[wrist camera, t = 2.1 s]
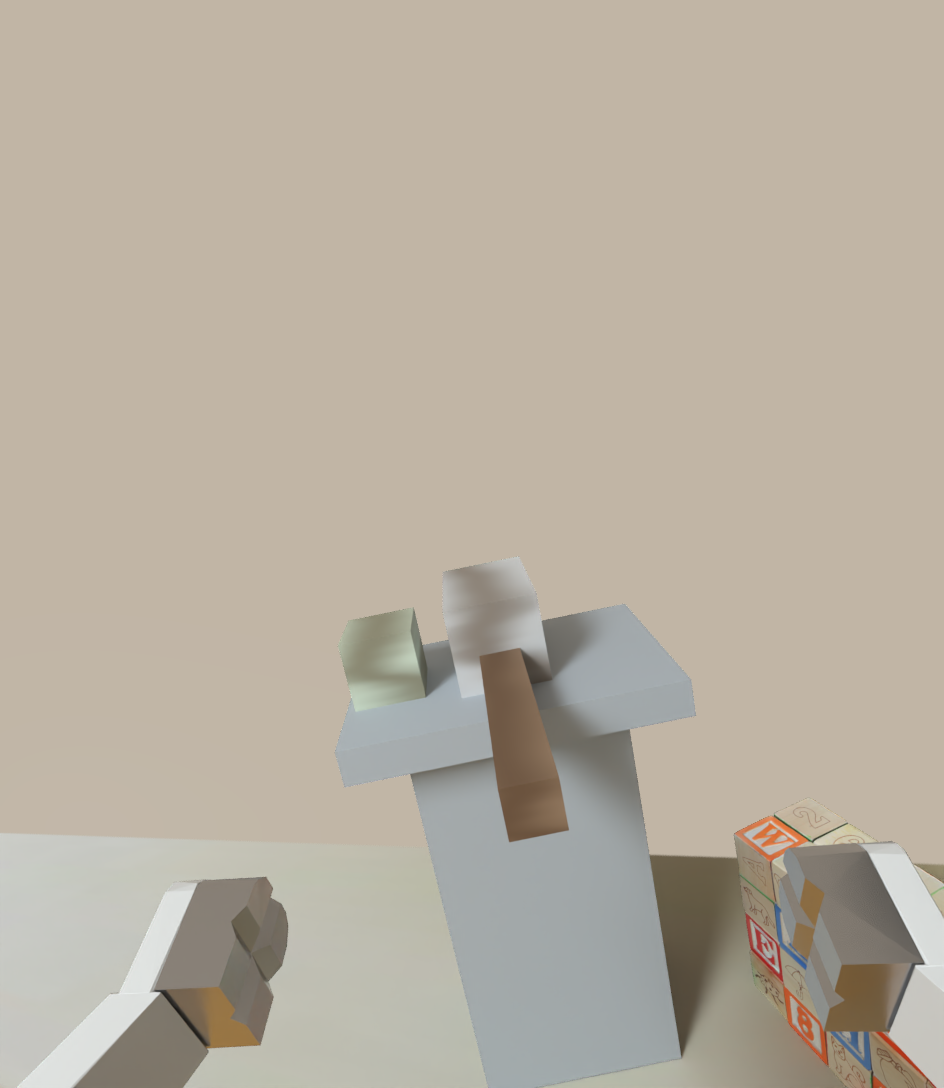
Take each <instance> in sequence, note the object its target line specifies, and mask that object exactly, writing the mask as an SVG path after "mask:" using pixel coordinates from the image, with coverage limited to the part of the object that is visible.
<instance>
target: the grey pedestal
mask: <svg viewBox="0 0 944 1088" xmlns="http://www.w3.org/2000/svg"><path fill="white" fill-rule="evenodd" d="M542 626H543V632H544V637H545V643H546V648H547V653H548V659H549V664H550V670H551V675H552V680H550V681H545V682H540V683H535V684H531V686H532V690H533V693H534V696H535V700H536V703H537V706H538V709H539V713H540V716H541V719H542V723H543V726H544V729H545V732H546V736H547V739H548V742H549V746H550V749H551V752H552V755H553V759H554V762H555V765H556V769H557V772H558V775H559V779H560V785H561V790H562V795H563V800H564V806H565V811H566V816H567V822H568V827H569V830H568V831H563V832H558V833H553V834H548V835H544V836H539V837H534V838H529V839H524V840H519V841H514V842H509V839H508V835H507V830H506V825H505V821H504V816H503V811H502V807H501V802H500V797H499V793H498V787H497V780H496V773H495V766H494V759H493V751H492V744H491V737H490V730H489V723H488V715H487V708H486V701H485V694H481V695H476V696H471V697H466V698H462V697H461V693H460V688H459V684H458V679H457V675H456V670H455V666H454V661H453V657H452V652H451V648H450V643H449V640H445V641H441V642H436V643H431V644H426V645H422V646H423V650H424V654H425V659H426V663H427V667H428V671H427V688H426V698H421V699H416V700H411V701H406V702H401V703H396V704H391V705H387V706H382V707H377V708H372V709H367V710H362V711H357V712H355V708H354V705H353V701H352V698H351V701H350V704H349V707H348V711H347V714H346V718H345V721H344V724H343V727H342V730H341V734H340V737H339V740H338V744H337V747H336V750H335V755H336V758H337V762H338V765H339V769H340V772H341V776H342V780H343V783H344V787H348V786H353V785H358V784H363V783H368V782H373V781H378V780H383V779H388V778H393V777H398V776H402V775H407V774H410V775H411V779H412V782H413V786H414V791H415V795H416V799H417V803H418V807H419V811H420V815H421V819H422V823H423V827H424V831H425V835H426V839H427V843H428V847H429V851H430V855H431V859H432V863H433V867H434V871H435V875H436V879H437V883H438V887H439V891H440V895H441V899H442V903H443V907H444V911H445V915H446V920H447V924H448V928H449V932H450V936H451V940H452V944H453V948H454V952H455V956H456V960H457V964H458V968H459V972H460V976H461V980H462V984H463V988H464V992H465V996H466V1000H467V1004H468V1008H469V1012H470V1016H471V1020H472V1024H473V1028H474V1032H475V1036H476V1040H477V1044H478V1048H479V1052H480V1056H481V1060H482V1064H483V1068H484V1072H485V1076H486V1080H487V1084H488V1088H537V1087H542V1086H547V1085H551V1084H556V1083H561V1082H566V1081H571V1080H576V1079H581V1078H586V1077H591V1076H596V1075H601V1074H606V1073H611V1072H616V1071H621V1070H625V1069H630V1068H635V1067H640V1066H645V1065H650V1064H655V1063H660V1062H665V1061H670V1060H675V1059H680V1058H681V1052H680V1046H679V1040H678V1033H677V1027H676V1021H675V1014H674V1008H673V1002H672V995H671V989H670V983H669V976H668V970H667V964H666V957H665V951H664V945H663V938H662V932H661V926H660V919H659V913H658V907H657V900H656V894H655V888H654V881H653V875H652V869H651V862H650V856H649V850H648V844H647V837H646V831H645V824H644V818H643V812H642V805H641V800H640V793H639V787H638V780H637V774H636V767H635V761H634V755H633V748H632V742H631V736H630V729H633V728H638V727H643V726H648V725H653V724H658V723H663V722H667V721H672V720H677V719H682V718H687V717H692V716H696V713H695V705H694V698H693V690H692V683H691V679H690V678H689V677H688V675H687V674H686V673H685V672H684V671H683V670H682V669H681V667H680V666H679V665H678V664H677V663H676V662H675V661H674V659H672V657H671V656H670V655H669V654H668V653H667V652H666V650H665V649H664V648H663V647H662V646H661V645H660V644H659V642H658V641H657V640H656V639H655V638H654V637H653V636H652V634H650V632H649V631H648V630H647V629H646V628H645V626H644V625H643V624H642V623H641V622H640V621H639V620H638V618H637V617H636V616H635V615H634V614H633V613H632V612H631V610H630V609H629V608H628V607H627V606H626V605H625V604H622V605H617V606H612V607H607V608H602V609H597V610H592V611H588V612H582V613H578V614H573V615H568V616H563V617H558V618H553V619H548V620H543V621H542Z"/></svg>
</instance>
